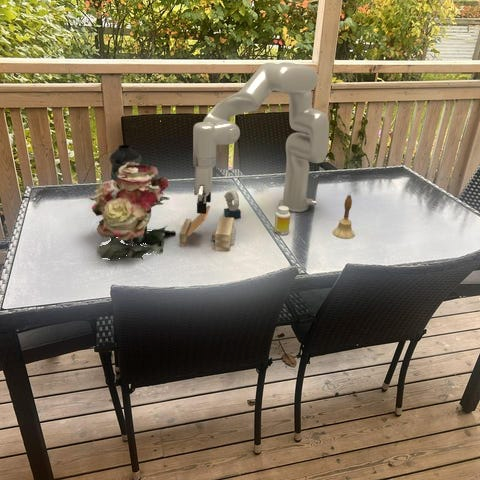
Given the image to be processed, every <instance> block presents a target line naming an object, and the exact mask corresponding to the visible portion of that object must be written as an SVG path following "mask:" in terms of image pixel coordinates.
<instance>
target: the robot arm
mask: <svg viewBox="0 0 480 480" xmlns="http://www.w3.org/2000/svg"><path fill="white" fill-rule="evenodd" d="M318 81H319V74H318V72H317V70H316V69H315V68H314V67H312V66H309V65H304V64H298V63H293V62H289V61H288V62H286V61H284V62H280V63H275V62H265V63H263V64H262V65H261V66H259V68H258V69H257V70H256V71H255V72H254V73H253V74H252V75H251V76H250V78H249V79H248V81H247V82H246V83H245V84H244V86H243V87H242V88H241V89H239V91H237V92H235V93H234V94H231V95H230V96H228V97H226V98H224V99H223V100H221V101H219V102H218V103H217V104H215V106H213V107H212V108H211V110H210V111H209V112H208V113H207V115H206V116H205V117H204V118H203V121H201V122H197V123H195V124H194V125H193V130H192V131H193V132H192V135H193V137H192V139H193V142H192V143H193V145H192V146H193V148H192V151H193V152H192V153H193V154H192V158H193V161H192V163H193V167H195V170H194V171H195V173H194V187H193V189H194V190H193V194H194V196H197V201H196V213H197V214H198V215H199V214H206V212H207V206H208V205H207V203H211V202H212V201H211V200H212V199H211V198H212V197H211V196H212V192H211V191H212V190H211V189H212V187H213V186H212V185H213V169H214V168H215V167H216V165H217V146H226V145H227V146H228V145H229V146H230V145H232V144H235V143H236V142H237V141H238V140H239V138H240V135H241V131H240V127H239V126H238V124H236V123H234V122H232V121H230V120H228V119H230V118H232V117H234V116H236V115H240V114H244V113H249V112H250V113H251V112H254V111H256V110H258V109H259V108H260V107H261V106H262V104H263V103H264V102H265V101H266V99H267V98H268V97H269V96H270V94H271V93H272V92H273V91H275V92H281V93H287V94H288V100H289V101H288V103H289V104H288V105H289V107H288V108H289V112H288V114H289V116H288V117H289V125H290V128H291V129H292V130H294V131H296V132H293V133H291V134H290V135H289V136H288V137H287V138H286V142H285V152H286V153H285V154H286V166H285V175H284V176H285V177H284V185H283V196H282V199H280V200H279V203H278V207H279V206H286V207H288V208H289V213H301V212H303V213H304V212H305V211H308V209H309V206H310V205H311V206H316V205H317V200H314V198H308V197H307V192H308V181H309V176H310V175H309V174H310V163H312V164H319V163H322V162H323V161H324V160H325V159H326V157H327V154H328V149H329V137H330V136H329V135H330V134H329V133H330V121H329V116H328V115H327V114H326V113H325V112H323V111H321V110H318V109H314V108H313V100H312V98H313V97H312V95H313V94H312V91H313V90H314V89H315V88H316V87H317V85H318Z"/></svg>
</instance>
